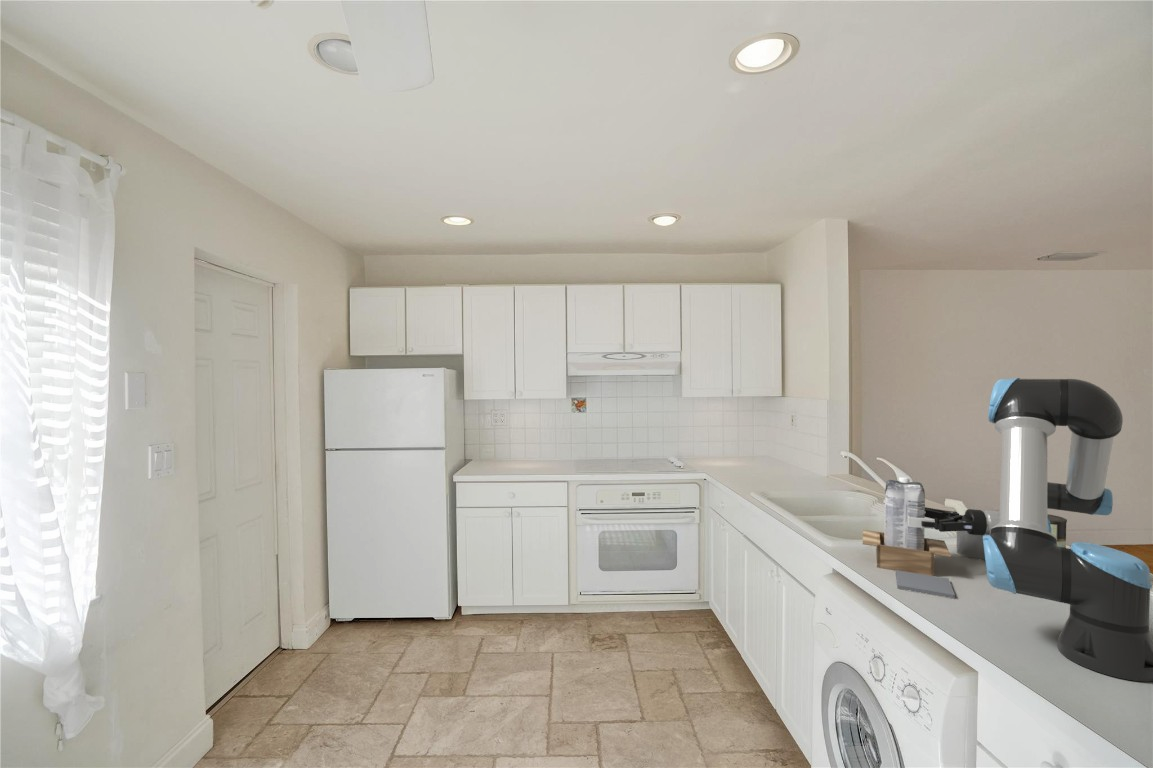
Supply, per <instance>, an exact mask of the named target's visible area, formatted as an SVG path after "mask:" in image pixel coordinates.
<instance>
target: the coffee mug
mask: <svg viewBox="0 0 1153 768" xmlns="http://www.w3.org/2000/svg"><path fill="white" fill-rule="evenodd" d="M984 535H985V534H984ZM984 535H971V534H969V533H968V532H967V531H956V549H955V550H956V553H957V554H959V555H960V556H962V557H965V558H970V559H973V558H974V559H975V560H980V559H981V560H982V561H985V552H984V544H983V536H984ZM981 560H980V561H981Z"/></svg>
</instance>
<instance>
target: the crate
mask: <svg viewBox="0 0 1153 768" xmlns="http://www.w3.org/2000/svg"><path fill="white" fill-rule="evenodd" d="M862 531H863V532H862V545H864V546H870V547H871V546H873V547H876V555H875V556H876V568H878V567H879V569H884V570H893V571H896V570H899V571H905V572H912V573H918V574H924V575H930V576H935V556H941V557H947V558H948V557H949V558H952V555H951V553H950V550H949V548H948V546H947V544H946V542H945V540H942V539H935V538H926V537H924V551H922V550H915V549H908V548H901V547H894V546H887V545H884V534H885V532H884V531H883V532H882V531H874V530H868V529H867V530H866V529H863V530H862Z"/></svg>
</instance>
